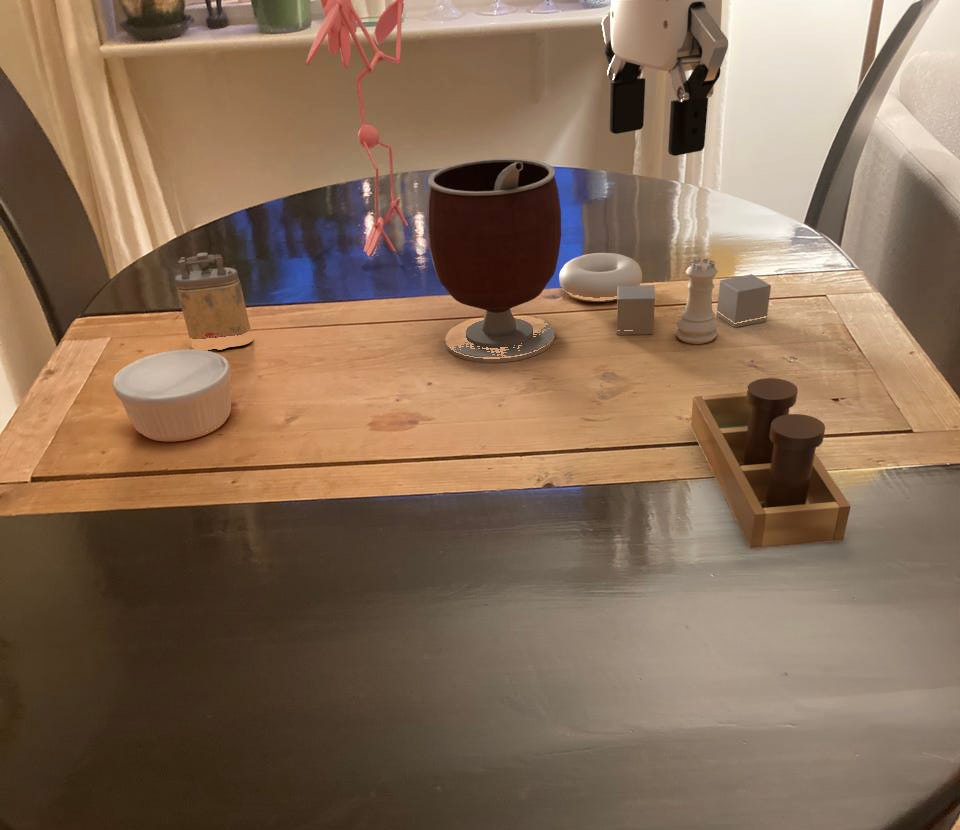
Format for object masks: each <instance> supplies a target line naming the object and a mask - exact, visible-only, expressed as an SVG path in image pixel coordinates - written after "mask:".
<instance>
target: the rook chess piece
mask: <svg viewBox="0 0 960 830" xmlns="http://www.w3.org/2000/svg"><path fill="white" fill-rule="evenodd" d="M685 273H686V275H687V277H688V279H689V281H688V282H689V283H687V285H686V287H687V289H688V293H687V298H686V304H685V307H684V311H682V313H681V316H680V318H679V319H678V320H677V322H676V325H677V329H676V331H675V334H676V336H677V338H678V339H679V340H680V341H681V342H683V343H686V344H691V345H702V344H707V343H710V342H712V341H713V340H714V339H715V338H716V337H717V336H718V334H719V333H718V330H717V327H718V325H719V324H718V320H717V318H716V317H715V313H714V310H713V300H712V298H713V297H712V296H713V295H712V294H713V289H714V288H715V285H714V283H713V281H714V278H715V276H717V274H718V273H719V271H718V269H717V267H716V262H715V260H714V259H712V258H711V259H709V258H707V257H703V258H702V262H700V258H699V257H698V258H694V259H693V260H690V262H689V266H688V268H687V269H686V271H685Z"/></svg>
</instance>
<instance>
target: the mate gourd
mask: <svg viewBox="0 0 960 830" xmlns="http://www.w3.org/2000/svg"><path fill="white" fill-rule="evenodd" d="M427 184H428V188H427V196H426V197H427V198H426V215H425V216H426V219H425V222H426V227H427V228H426V232H427V233H426V234H427V244H428V249H429V253H430V258H431V262H432V266H433V268H434V272H435V273H436V274H435V275H436V277H437V280H438V282H439V283H440V285H442V287H443V288H444V289H445V290H446V291H447V292H448V294H449V295H450V296H451V297H452V299H454V301H456V302H458V303H460V304H462V305H464V306H468V307H472V308H476V309H481V310H483V311H485V313H484V315H485V316H484V320H482V321H479V322H476V323H474V324H472V325H471V326H469V327H468V328H467V330H466V338H467V340H468V341H469V342H471V343H473V344H474V345H472V346H474V347H472V348H475V349H471V348H470V344H469V345H467V346H469V347H466V344H464V345H461V346H464V347H461V348H459V347H458V345H457V346H454V347H456V348H454V350H455V349H456V350H455V351H457V352H460V353H462V354H464V355H469V356H474V357H502V356H501V355H499V356H497V354H501V352H500V353H496V352H494V353H491V350H490V349H489V350H486V349H482V347H483V348H486V347H488V348H498V349H500V347H508V348H505V349H509V350H506V351H503V352H507V353H504V354H503V355H506V356H515V355H520V354H525V353H529V352H532V353H529V354H526V355H522V356H517V357H511V358H500V359H483V358H474V357H469V356H464V355H462V354H459V353H456V352H454V351H453V350H451V349H450V348H449V347H448V346H447V345H446V343H445V342H444V344H445V345H444V346H445V349H446V350H447V351H448V352H449V353H450V354H451V355H452V356H455V357H456V358H459V359H461V360H462V359H463V360H465V361H470V362H475V363H484V364H485V363H488V364H490V363H493V364H499V363H510V362H516V361H521V360H526V359H529V358H532V357H535V356H537V355H540V354H541V353H544V352H545V351H547V350H548V349H549V348H551V347H552V345H553V344H554V342H555V338H556V336H555V335H556V334H555V335H554V333H555V328H554V327H553V326H552V327H550V326H551V325H552V323H550V322H548V324H549V325H546V327H544V328H543V329H546V330H547V331H544V333H542V330H543V329H541V332H540V333H534V334H537V335H533V327H532V325H531V324H530V323H528V322H526V321H524V320H521V319H516V318H514V317H513V315H512V313H513V312H512V311H511V309H513V308H514V307H515V308H516V307H518V306H521V305H523V304H525V303H529V302H530V301H533V300H534V299H536V298H537V297H539V296H540V295H541V294H542V292H543V291H544V290H545V288H546V286H547V285H548V284H549V282H551V279H552V278H553V277H554V275H555V272H556V270H557V269H556V268H557V265H558V260H559V255H560V246H561V241H562V209H561V202H560V195H559V189H558V184H557V180H556V170H555V167H553V166H552V165H551V164H548V163H546V162H543V161H539V160H533V159H529V158H528V159H527V158H513V157H510V158H509V157H502V158H486V159H483V158H482V159H475V160H470V161H464V162H459V163H455V164H451V165H447V166H445V167H442V168H439V169H438V170H435V171H434V172H432V173H431V174H430V175H428V178H427ZM544 323H546V322H544ZM547 328H550V329H547ZM538 332H539V331H538ZM539 334H540V335H539ZM533 336H536V337H533ZM553 337H554V338H553ZM552 339H553V340H552ZM551 340H552V341H551ZM550 341H551V342H550ZM549 342H550V343H549ZM465 343H466V342H465ZM521 343H522V344H521ZM548 343H549V344H548ZM547 344H548V345H547ZM514 345H515V346H514ZM518 345H522V346H519V347H520V348H519V349H517V348H518ZM545 345H546V346H545ZM477 346H480V347H477ZM543 346H545V347H543ZM513 347H515V348H513ZM541 347H543V348H541ZM478 348H480V349H478ZM539 348H541V349H539ZM460 349H461V350H460ZM538 349H539V350H538ZM518 350H520V351H518ZM534 350H538V351H535V352H533V351H534ZM487 351H490V352H487ZM493 351H495V350H493ZM499 351H500V350H499ZM492 354H495V355H492ZM503 357H504V356H503Z"/></svg>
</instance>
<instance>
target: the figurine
mask: <svg viewBox="0 0 960 830" xmlns="http://www.w3.org/2000/svg"><path fill="white" fill-rule="evenodd" d="M320 3H321V7H322V9H323V13H324V20H323V22H322V24H321V25H320V27H319V30H318V31H317V33H316V35H315V37H314V39H313V42H312V45H311V46H310V49H309V53H308V56H307V59H306V64H305V65H307V66H310V64H311V63H312V61H313V59H314V57H315V56H316V54H317V53H318V51H319V50H320V48H321V47H322V45H323V43H324V41H325V40H326V38H327V48H328V49H327V50H328V52H329V54H330V55H331V56H333V55H335V54H337V52H338V51H340V59H341V63H342V65H343V67H344V68H345V69H347V68H348V67H349V66H350V59H351V49H352V48H351V46H352V45H351V38H352V40H353V42H354V44H355V47H356V48H357V50H358V53H359V55H360V57H361V59H362V61H363V64H364V65H365V68H364V69H363V71H361V72H360V73H359V74H358V75H357V76H356V77H357V79H356V80H355V82H356V83H355V84H356V89H357V96H358V102H359V112H360V117H361V124H362V126H361V127H360V128H359V130H358V132H357V139H358V142H359V145H361V146H362V147H363V148H364V149H365V151H366V153H367V155H368V157H369V159H370V161H371V163H372V166H373V167H374V169H375V172H374V173H375V176H374V178H375V179H374V181H375V182H374V183H375V185H374V186H375V191H374V192H375V193H374V194H375V195H374V196H375V197H374V198H375V199H374V200H375V201H374V203H375V204H374V205H375V206H374V207H375V209H374V210H375V221H374V223H373V225H372V226H371V229H370V230H369V233H368V234H367V238H366V242H365V244H364V246H363V247H364V248H363V252H364V251H365V252H366V253H367V255H368V256H371V257H372V256H373V254H374V253H375V251H376V249H377V247H378V245H379V242H380V239H381V237H382V238H383V239H384V241H385V243H386V245H387V246H388V248H389V249H390V251H391V252H392V251H396V252H397V250H396V248H395V247H394V245H393V243H392V241H391V240H390V238H389V236H388V234H387V232H386V230H385V231H384V230H383V227H384V226H385V225H386V224H387V223H388V222H389V221H390V220H391V221H392V220H393V217H394V215H395V213H397V216H398V217H399V219H400V220H401V222H402V224H403V226H404V227H405V226H408V225H409V223H408V222H407V220H406V218H405V216H404V214H403V212H402V210H401V209H400V207H399V205H400V202H401V198H400V197H398V196H397V197H396V199H395V190H394V188H395V187H394V166H393V149H392V146H390V145H389V144H386V143H384V142H382V141H380V135H379V131H378V130H377V128H376V127H375V126H373V125H371V124H366V119H365V108H364V97H363V89H362V80H363V79H364V78H365V76H367V74H368V73H369V74H371V73H372V72H373V70H374V69H375V66H376V64H378V63H379V62H381V63H382V62H383V61H384V60H385V61H387V62H390V63H393V64H395V65H398V66H399V65H400V64H401V57H402V56H401V54H402V52H401V50H402V19H403V13H404V6H405V3H404V0H393V1H392V2H391V3H390V4H388V5H387V7H386V8H385V10H384V11H383V12H382V13H381V15H380V16H379V19H378V20H377V22H376V24H375V28H374V33H373V34H374V39H375V42H374V40H373V38H372V36H371V35H370V33H369V31H368V30H367V28H366V27H365V24H364V22H363V21H362V19H361V17H360V16H359V14H358V13H357V10H356V9H355V7H354V4H353V3H352V0H320ZM358 26H359V28H360V29H361V31H362V33H363V34H364V36H365V38H366V39H367V41H368V43H369V45H370V46H371V48H372V50H373V51H374V53H375V55H374V56H373V58H372V61H371V62H370V61H369V59H368V57H367V55H366V52H365V50H364V49H363V46H362V45H361V43H360V40H359V38H358V36H357V34H356V33H357V31H358V30H357V29H358ZM395 28H396V50H395V51H396V53H395V57H393V56H390V55H387V54H386V53H384V52H383V51H381V50H379V48H378V47H377V46H380V45H381V43H383V41H385V40H386V38H388V37H389V35H390V34H391V33H392V32H393V31H394V29H395ZM376 44H377V45H376ZM377 145H379V146H382V147H384V148H387V149H388V157H389V174H390V175H389V177H390V192H391V193H390V195H391V202H390V204H389V205H390V207H389V209H388V210H387V212H386V213H385V216H384V217H382V216H379V168H378V166H377V164H376V162H375V159H374V157H373V155H372V153H371V150H370V149H373V148H375V147H376V146H377ZM391 221H390V222H391ZM381 234H382V236H381ZM380 236H381V237H380Z"/></svg>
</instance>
